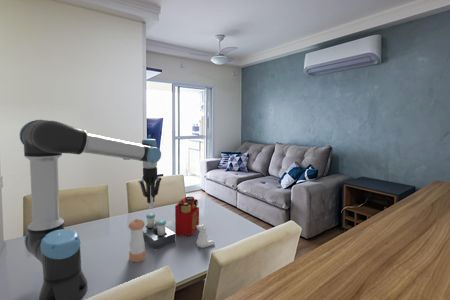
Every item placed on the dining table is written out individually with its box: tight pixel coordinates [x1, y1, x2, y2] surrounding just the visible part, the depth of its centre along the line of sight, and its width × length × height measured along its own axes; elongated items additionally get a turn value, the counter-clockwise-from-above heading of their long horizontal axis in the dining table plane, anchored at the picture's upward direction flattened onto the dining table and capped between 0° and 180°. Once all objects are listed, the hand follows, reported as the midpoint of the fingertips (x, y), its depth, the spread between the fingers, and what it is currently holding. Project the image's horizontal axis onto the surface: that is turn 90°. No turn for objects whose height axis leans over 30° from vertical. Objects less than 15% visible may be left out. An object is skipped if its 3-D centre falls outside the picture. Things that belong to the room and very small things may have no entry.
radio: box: [174, 195, 200, 237], centre depth 144 cm, size 16×10×20 cm, turn 168°
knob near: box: [156, 219, 167, 237], centre depth 129 cm, size 5×5×7 cm
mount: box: [143, 221, 176, 251], centre depth 134 cm, size 12×20×5 cm, turn 44°
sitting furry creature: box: [196, 223, 216, 249], centre depth 128 cm, size 10×9×12 cm
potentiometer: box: [153, 220, 158, 231], centre depth 133 cm, size 3×3×5 cm
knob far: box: [145, 212, 156, 228], centre depth 137 cm, size 5×5×7 cm
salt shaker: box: [128, 218, 146, 263], centre depth 114 cm, size 7×7×19 cm
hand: (151, 207), depth 136 cm, fingers closed
